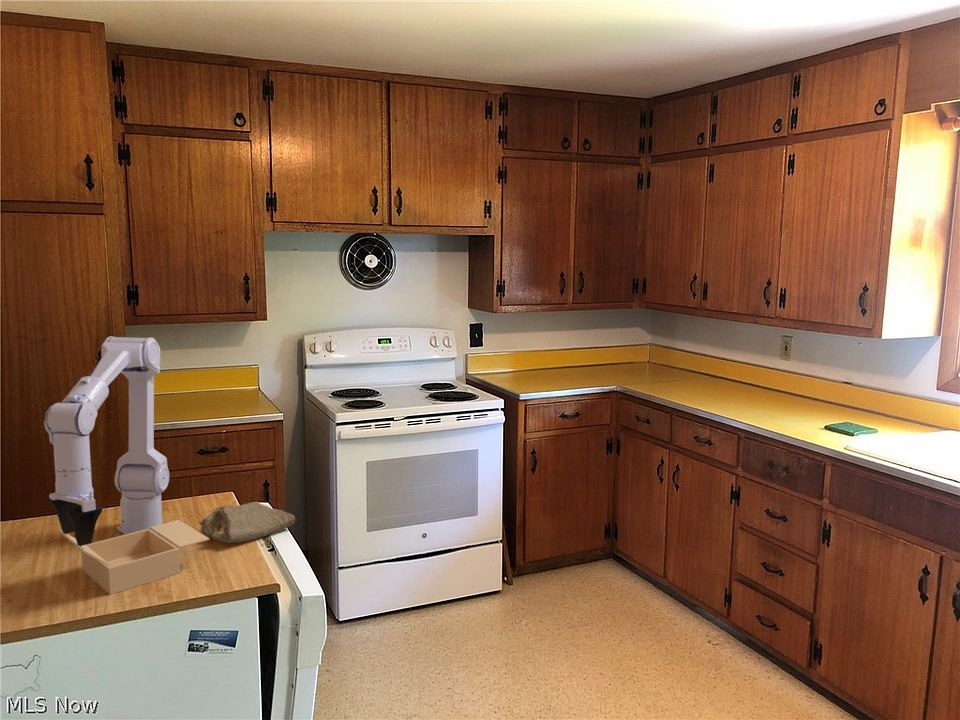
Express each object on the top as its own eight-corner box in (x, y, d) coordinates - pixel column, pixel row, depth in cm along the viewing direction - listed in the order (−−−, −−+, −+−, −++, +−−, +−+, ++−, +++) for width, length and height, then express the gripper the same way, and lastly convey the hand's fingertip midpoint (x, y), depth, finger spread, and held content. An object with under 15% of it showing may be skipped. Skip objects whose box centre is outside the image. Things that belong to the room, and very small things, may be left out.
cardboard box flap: (82, 542, 143) (81, 544, 142) (57, 527, 139) (55, 529, 139) (109, 564, 133) (108, 566, 133) (83, 549, 130) (81, 551, 130)
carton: (82, 570, 143) (81, 544, 143) (179, 543, 157) (178, 519, 157) (110, 594, 134) (108, 567, 133) (210, 563, 148) (209, 538, 147)
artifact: (187, 537, 163) (224, 559, 153) (184, 506, 161) (221, 527, 152) (259, 509, 176) (297, 528, 167) (256, 481, 175) (295, 498, 165)
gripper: (35, 462, 135) (40, 532, 137) (62, 481, 126) (67, 556, 128) (76, 455, 140) (80, 523, 143) (106, 473, 131) (109, 545, 133)
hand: (77, 538), depth 136 cm, fingers open, 7 cm apart
